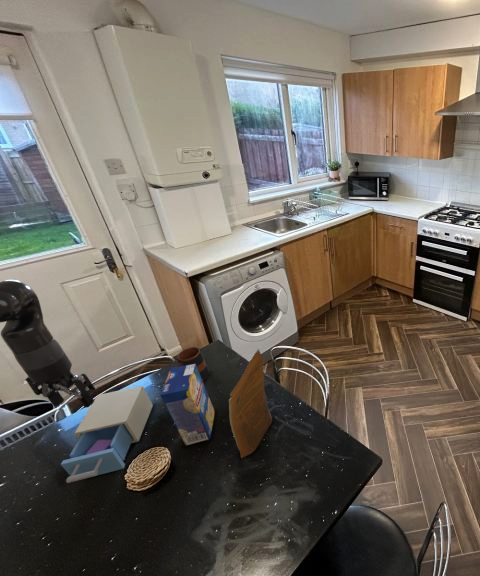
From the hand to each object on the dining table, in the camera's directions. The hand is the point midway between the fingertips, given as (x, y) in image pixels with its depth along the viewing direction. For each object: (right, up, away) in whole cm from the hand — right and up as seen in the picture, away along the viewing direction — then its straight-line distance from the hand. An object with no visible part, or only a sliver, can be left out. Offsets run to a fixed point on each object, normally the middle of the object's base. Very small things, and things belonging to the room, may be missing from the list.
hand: (74, 404), depth 84 cm
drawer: (+3, -19, +7) cm, 20 cm away
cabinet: (-1, -14, +17) cm, 22 cm away
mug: (+11, -4, +35) cm, 37 cm away
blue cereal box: (+24, -14, +17) cm, 33 cm away
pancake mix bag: (+44, -15, +15) cm, 49 cm away
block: (+3, -18, +6) cm, 19 cm away
